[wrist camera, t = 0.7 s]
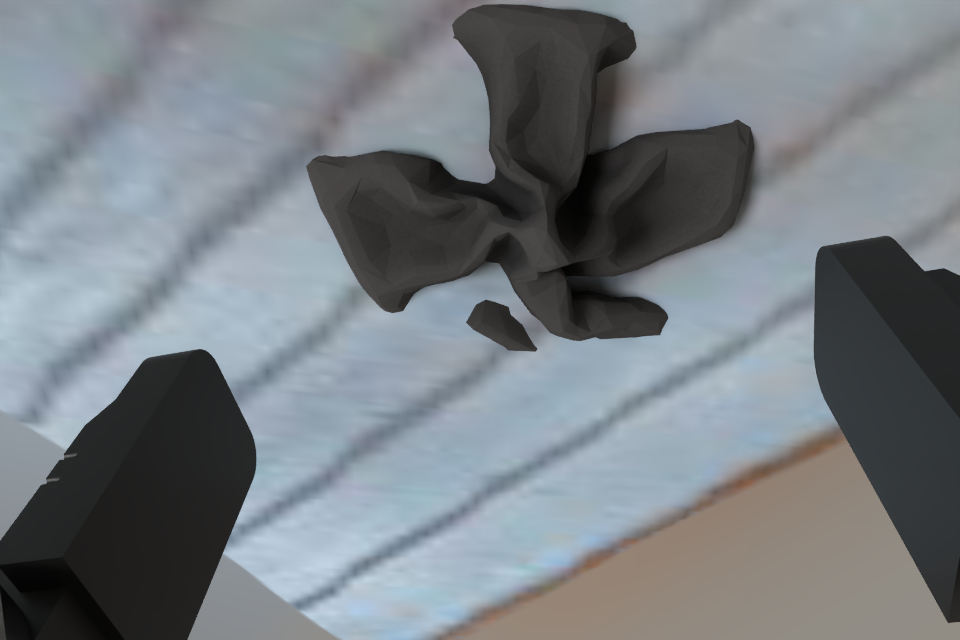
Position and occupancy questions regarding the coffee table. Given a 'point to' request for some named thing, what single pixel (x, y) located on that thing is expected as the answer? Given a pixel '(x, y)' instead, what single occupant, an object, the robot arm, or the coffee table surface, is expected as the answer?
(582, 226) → the cloth
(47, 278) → the coffee table surface
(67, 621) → the robot arm
